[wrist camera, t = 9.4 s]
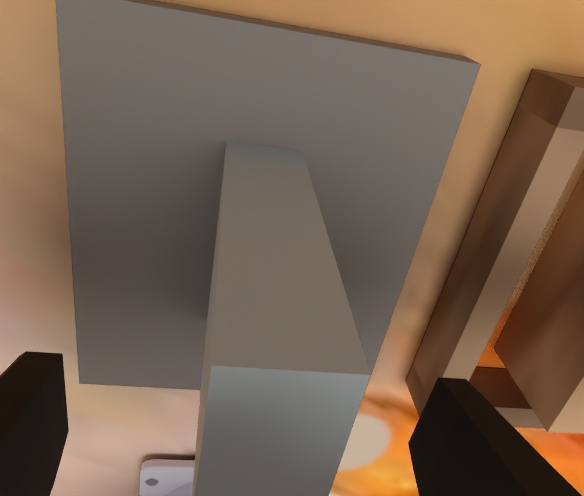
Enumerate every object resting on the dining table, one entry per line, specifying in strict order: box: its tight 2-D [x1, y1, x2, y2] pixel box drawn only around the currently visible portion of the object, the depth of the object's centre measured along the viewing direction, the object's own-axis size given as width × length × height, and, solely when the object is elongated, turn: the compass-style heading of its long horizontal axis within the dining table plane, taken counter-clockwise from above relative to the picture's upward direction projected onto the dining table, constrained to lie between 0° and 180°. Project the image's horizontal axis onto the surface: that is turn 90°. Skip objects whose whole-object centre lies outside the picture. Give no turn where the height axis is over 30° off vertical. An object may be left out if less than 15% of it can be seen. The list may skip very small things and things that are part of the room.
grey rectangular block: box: [192, 141, 370, 496], centre depth 11 cm, size 6×2×8 cm, turn 170°
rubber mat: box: [56, 0, 481, 399], centre depth 15 cm, size 12×10×1 cm
